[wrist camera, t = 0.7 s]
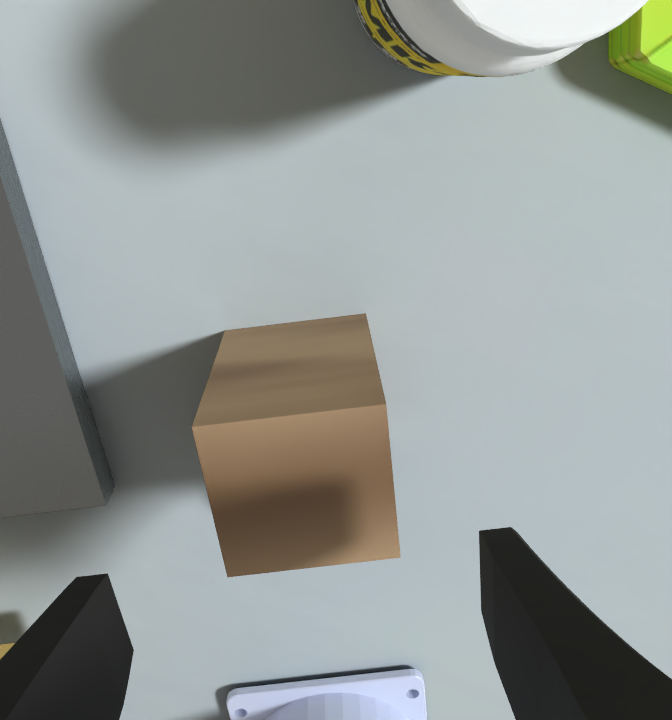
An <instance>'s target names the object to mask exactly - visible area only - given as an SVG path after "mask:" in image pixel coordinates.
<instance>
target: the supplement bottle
mask: <svg viewBox="0 0 672 720" xmlns="http://www.w3.org/2000/svg"><path fill="white" fill-rule="evenodd" d="M647 1H648V0H353V2H354V6H355V9H356V12H357V15H358V17H359V19H360V21H361V24H362V25H363V27H364V29H365V31H366V33H367V34H368V36H369V37H370V39H371V40H372V41H373V43H374V44H375V45H376V46H377V47H378V48H379V49H380V50H381V51H382V52H383V53H384V54H385V55H386V56H387V57H389V58H390V59H392V60H393V61H395V62H396V63H398V64H400V65H401V66H404V67H406V68H408V69H411V70H414V71H417V72H421V73H425V74H432V75H455V76H474V77H503V76H513V75H519V74H523V73H527V72H530V71H534V70H536V69H539V68H542V67H545V66H547V65H549V64H552V63H554V62H556V61H558V60H560V59H562V58H563V57H565V56H567V55H568V54H570V53H571V52H573V51H574V50H576V49H577V48H579V47H580V46H581V45H583V44H584V43H586V42H588V41H590V40H593V39H595V38H598V37H600V36H602V35H604V34H605V33H607V32H609V31H611V30H612V29H614V28H616V27H617V26H619V25H620V24H622V23H623V22H624V21H626V20H627V19H628V18H629V17H631V16H632V15H633V14H634V13H635V12H637V11H638V10H639V9H640V8H641V7H642V6H643V5H645V4H646V2H647Z"/></svg>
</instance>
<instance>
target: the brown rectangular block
mask: <svg viewBox="0 0 672 720" xmlns="http://www.w3.org/2000/svg"><path fill="white" fill-rule="evenodd" d="M192 431H193V435H194V439H195V443H196V447H197V452H198V456H199V460H200V464H201V468H202V472H203V477H204V481H205V485H206V489H207V493H208V498H209V502H210V506H211V510H212V514H213V518H214V523H215V527H216V531H217V535H218V539H219V544H220V548H221V552H222V556H223V560H224V564H225V569H226V573H227V577H233V576H242V575H251V574H260V573H269V572H277V571H286V570H295V569H304V568H312V567H321V566H330V565H339V564H348V563H356V562H365V561H374V560H383V559H391V558H400V547H399V537H398V526H397V515H396V505H395V494H394V483H393V473H392V462H391V451H390V441H389V430H388V419H387V409H386V402H385V397H384V393H383V388H382V384H381V379H380V375H379V370H378V366H377V362H376V357H375V353H374V348H373V344H372V339H371V335H370V330H369V326H368V322H367V317H366V314H358V315H349V316H341V317H333V318H324V319H316V320H308V321H299V322H291V323H283V324H275V325H266V326H258V327H250V328H241V329H233V330H225V332H224V334H223V337H222V340H221V343H220V346H219V349H218V352H217V355H216V358H215V361H214V364H213V366H212V369H211V372H210V375H209V378H208V381H207V384H206V387H205V390H204V393H203V395H202V398H201V401H200V404H199V407H198V410H197V413H196V416H195V419H194V422H193V425H192Z"/></svg>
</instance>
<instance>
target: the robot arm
mask: <svg viewBox="0 0 672 720" xmlns="http://www.w3.org/2000/svg"><path fill="white" fill-rule="evenodd" d="M479 544H480V579H481V611H482V615H483V619H484V623H485V627H486V631H487V635H488V639H489V643H490V647H491V651H492V654H493V658H494V662H495V665H496V668H497V670H498V673H499V676H500V679H501V681H502V684H503V687H504V689H505V692H506V695H507V697H508V700H509V703H510V705H511V708H512V711H513V713H514V716H515V719H516V720H672V679H671V678H669V677H668V676H667V675H665V674H664V673H663V672H662V671H660V670H659V669H658V668H656V667H655V666H654V665H653V664H651V663H650V662H649V661H648V660H646V659H645V658H644V657H643V656H642V655H640V654H639V653H638V652H637V651H636V650H634V649H633V648H632V647H631V646H630V645H629V644H627V643H626V642H625V641H624V640H623V639H622V638H621V637H619V636H618V635H617V634H616V633H615V632H614V631H613V630H612V629H610V628H609V627H608V626H607V625H606V624H605V623H604V622H603V621H602V620H601V619H599V618H598V617H597V616H596V615H595V614H594V613H593V612H592V611H591V610H590V609H589V608H588V607H587V606H586V605H585V604H584V603H583V602H582V601H581V600H580V599H579V598H578V597H577V596H576V595H575V594H574V593H573V592H572V591H571V590H570V589H569V588H567V587H566V585H565V584H564V583H563V582H562V581H561V580H560V579H559V578H558V577H557V576H556V575H555V574H554V573H553V572H552V571H551V570H550V569H549V568H548V567H547V565H546V564H545V563H544V562H543V561H542V560H541V559H540V558H539V557H538V556H537V555H536V553H535V552H534V551H533V550H532V549H531V548H530V547H529V545H528V544H527V543H526V542H525V541H524V540H523V539H522V537H521V536H520V535H519V534H518V533H517V532H516V531H515V530H514V529H513V528H511V527H508V528H500V529H491V530H482V531H479ZM133 651H134V650H133V647H132V644H131V641H130V638H129V635H128V632H127V629H126V626H125V623H124V621H123V618H122V615H121V612H120V609H119V606H118V603H117V600H116V597H115V594H114V591H113V588H112V585H111V582H110V579H109V576H108V574H99V575H91V576H82V577H76V578H75V579H74V580H73V581H72V582H71V583H70V584H69V585H68V587H67V588H66V589H65V590H64V591H63V592H62V593H61V594H60V595H59V596H58V597H57V598H56V599H55V601H54V602H53V603H52V604H51V605H50V606H49V607H48V608H47V609H46V610H45V612H44V613H43V614H42V615H41V616H40V617H39V618H38V619H37V620H36V621H35V623H34V624H33V625H32V626H31V627H30V628H29V629H28V630H27V631H26V632H25V633H24V634H23V635H22V637H21V638H20V639H19V640H18V641H17V642H16V643H15V644H14V645H13V646H12V647H11V648H10V649H9V650H8V652H7V653H6V654H5V655H4V656H3V657H2V658H1V659H0V720H119V718H120V715H121V711H122V708H123V705H124V700H125V695H126V690H127V685H128V680H129V674H130V668H131V662H132V657H133ZM412 689H413V690H412ZM226 705H227V709H228V713H229V717H230V720H427V712H426V700H425V688H424V680H423V675H422V673H421V672H420V671H418V670H415V669H404V670H395V671H386V672H377V673H368V674H359V675H351V676H342V677H333V678H324V679H315V680H306V681H297V682H288V683H279V684H270V685H261V686H252V687H243V688H236V689H233V690H231V691H230V692H229V693H228V695H227V701H226Z"/></svg>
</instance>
